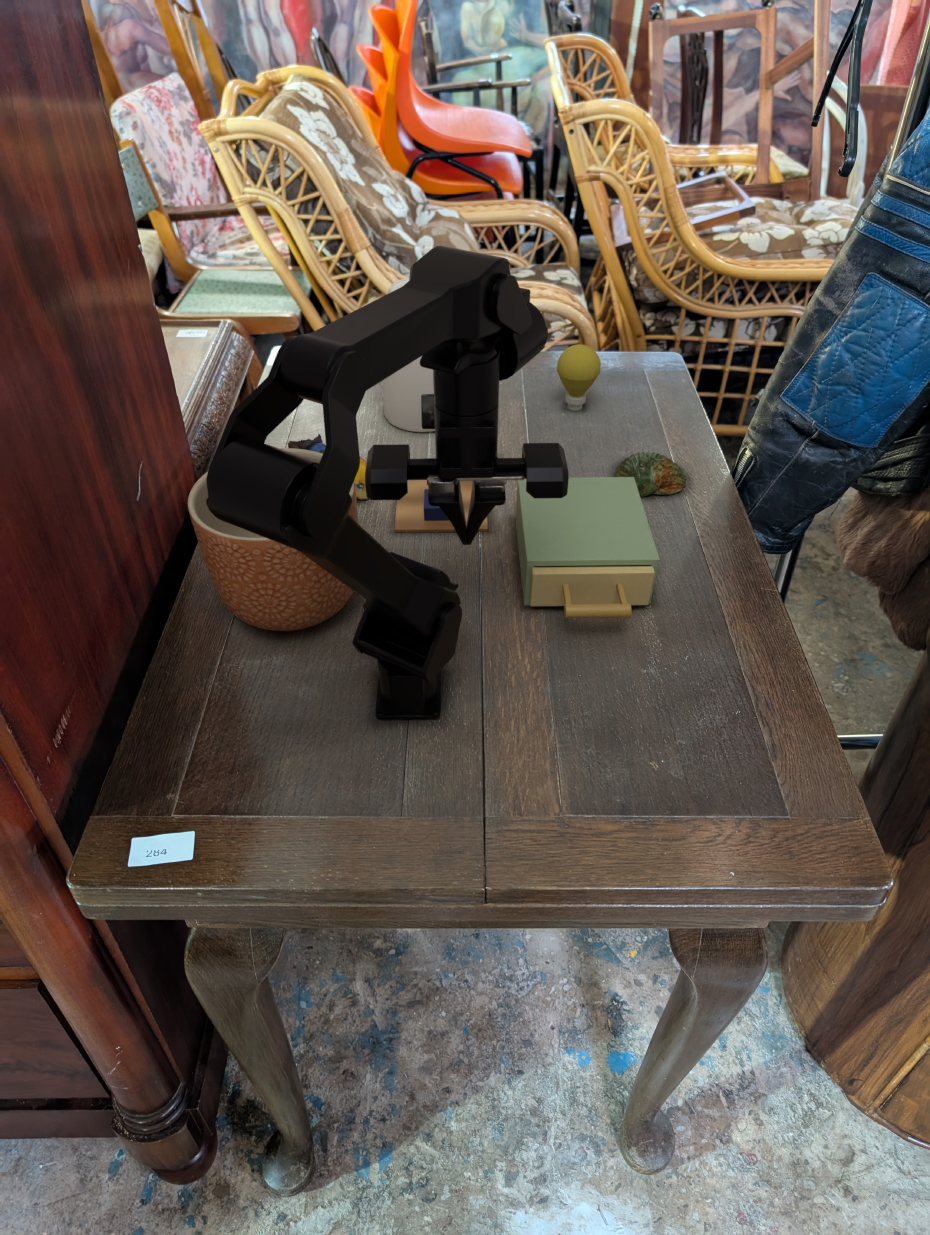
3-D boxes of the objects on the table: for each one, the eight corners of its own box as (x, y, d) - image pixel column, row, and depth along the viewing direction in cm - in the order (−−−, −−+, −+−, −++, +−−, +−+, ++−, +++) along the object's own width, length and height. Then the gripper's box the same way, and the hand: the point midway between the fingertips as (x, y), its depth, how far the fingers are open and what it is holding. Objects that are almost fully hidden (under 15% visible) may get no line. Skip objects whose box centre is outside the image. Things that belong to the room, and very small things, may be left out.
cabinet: (650, 604, 92) (659, 559, 87) (524, 605, 92) (527, 560, 87) (626, 519, 104) (634, 476, 99) (515, 521, 104) (517, 477, 99)
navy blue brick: (458, 520, 103) (457, 507, 102) (424, 520, 103) (423, 508, 102) (457, 480, 110) (457, 467, 109) (425, 480, 110) (425, 468, 109)
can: (388, 395, 130) (379, 268, 116) (465, 396, 129) (464, 269, 116) (379, 433, 120) (368, 301, 107) (461, 435, 120) (460, 302, 106)
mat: (487, 531, 102) (487, 528, 102) (394, 532, 102) (394, 529, 102) (484, 480, 111) (484, 477, 111) (398, 481, 111) (398, 478, 110)
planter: (397, 601, 92) (388, 490, 82) (274, 676, 83) (246, 563, 73) (310, 538, 101) (292, 431, 91) (191, 599, 92) (156, 489, 82)
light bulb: (549, 413, 125) (554, 352, 118) (558, 394, 129) (563, 334, 123) (591, 419, 123) (599, 358, 117) (599, 400, 128) (606, 340, 121)
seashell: (698, 443, 110) (677, 479, 103) (695, 469, 112) (674, 506, 106) (628, 431, 114) (604, 465, 107) (627, 457, 116) (603, 491, 110)
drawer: (656, 635, 87) (664, 602, 83) (533, 637, 86) (536, 604, 83) (626, 524, 102) (631, 493, 98) (521, 525, 101) (523, 494, 98)
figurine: (380, 496, 108) (376, 455, 104) (333, 517, 104) (327, 476, 100) (333, 463, 114) (328, 423, 110) (287, 481, 111) (280, 442, 107)
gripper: (562, 360, 76) (550, 496, 87) (367, 362, 76) (379, 498, 86) (575, 417, 68) (561, 560, 78) (357, 419, 68) (372, 562, 78)
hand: (466, 542), depth 81 cm, fingers closed
